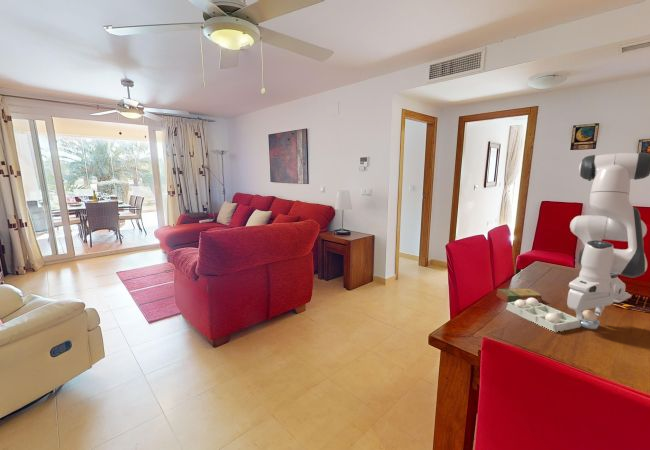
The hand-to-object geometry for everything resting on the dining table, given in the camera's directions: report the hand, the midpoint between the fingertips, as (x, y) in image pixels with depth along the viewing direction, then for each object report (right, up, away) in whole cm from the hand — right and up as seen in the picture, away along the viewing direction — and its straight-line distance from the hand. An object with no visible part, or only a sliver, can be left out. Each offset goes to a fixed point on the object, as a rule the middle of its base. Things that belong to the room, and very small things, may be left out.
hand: (588, 317), depth 112 cm
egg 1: (-18, -1, +12) cm, 22 cm away
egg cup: (0, -3, +1) cm, 3 cm away
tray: (-13, -2, +7) cm, 15 cm away
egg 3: (-15, -3, 0) cm, 15 cm away
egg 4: (0, -2, 0) cm, 2 cm away
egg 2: (-12, 0, +14) cm, 19 cm away
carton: (-11, 0, +25) cm, 27 cm away
